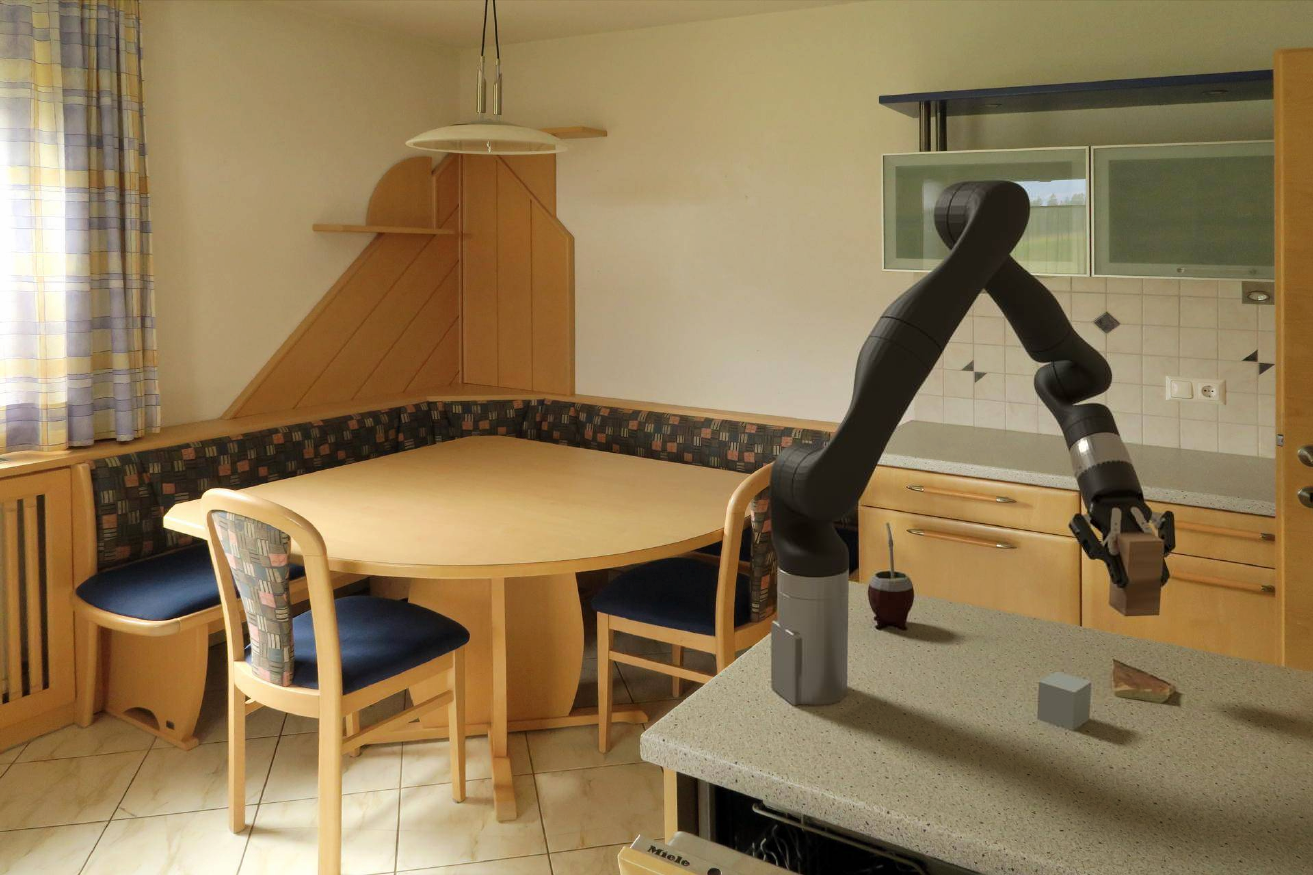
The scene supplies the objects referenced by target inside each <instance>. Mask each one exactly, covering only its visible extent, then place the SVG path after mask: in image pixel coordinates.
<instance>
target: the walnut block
mask: <svg viewBox="0 0 1313 875" xmlns="http://www.w3.org/2000/svg"><path fill="white" fill-rule="evenodd" d="M1116 543H1117V546H1118V549H1119V553H1118V554H1117V555H1118V556H1121V559H1122V562H1123V565H1124V568H1125V571H1126V574H1127V576H1128V578H1129V583H1128V584H1127V585H1126V586H1125V587H1124V588H1118V587H1117V585H1116V584H1113V582H1112V581H1111V578H1110V577H1109V593H1108V594H1109V595H1108V606H1110V607H1111V608H1112V609H1114V610H1116V611H1117V612H1118V613H1120V614H1121V615H1123V616H1124V617H1147V616H1148V617H1149V616H1150V617H1151V616H1160V611H1161V609H1160V608H1161V597H1162V596H1161V594H1162V587H1161V576H1162V568H1163V554H1164V540H1162V539H1160V538H1159V537H1158V535H1156V534H1155V535H1153V534H1151V533H1144V532H1142V531H1136V532H1120V534H1116Z"/></svg>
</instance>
